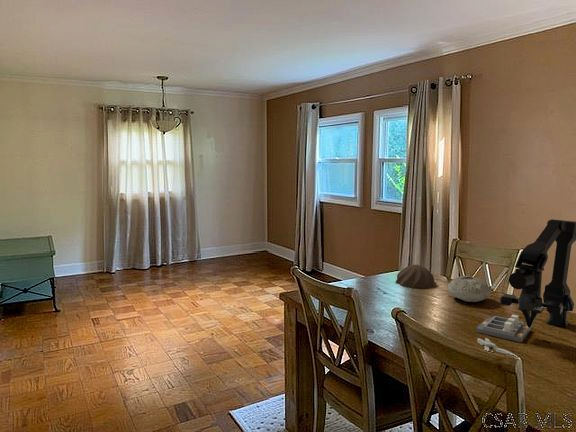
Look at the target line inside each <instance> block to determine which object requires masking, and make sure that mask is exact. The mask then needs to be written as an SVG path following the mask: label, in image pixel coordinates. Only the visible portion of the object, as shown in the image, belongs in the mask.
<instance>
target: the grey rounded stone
mask: <svg viewBox="0 0 576 432" xmlns="http://www.w3.org/2000/svg"><path fill="white" fill-rule="evenodd" d="M447 290H448V292H449V294H450V295H451V296H452V297H455V298H457V299H460V300H461V301H463V302H466V303H468V302H469V303H477V302H481V301H483V300H487V299H488V298H489V297H490V296H491V287H490V286H489V285H488V283H487V282H485V281H484V280H482V279H481V278H479V277H474V276H471V275H463V276H462V275H461V276H456V277H455V278H452V279H451V280H450V282H448V285H447Z"/></svg>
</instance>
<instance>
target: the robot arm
mask: <svg viewBox="0 0 576 432" xmlns="http://www.w3.org/2000/svg"><path fill="white" fill-rule="evenodd" d="M554 242H556V245H555V247H556V248H555V253H554V261H553V269H552V275H551V281H550V282H549V283H548V284H545V286H544V292H543V294H542V281H543V280H542V278H543V271H545V268H544V267H545V265H546V264H547V262H548V258H549V256H548V251H549V250H550V248H551V247H552V246H553V244H554ZM575 242H576V221H574V220H562V219H549V220H548V221H547V222H546V225H545V227H544V229H543V230H542V232H541V233H540V234H539V236H538V237H537V238H536V240H535V241H534V242H532V243H530V244H527V245H526V246H525V247H524V248H523V249H522V250H521V251H520V253H519V256H518V258H517V260H516V263H515V266H514V268H515V270H514V271H515V272H513V273H511V274H510V275H509V277H508V283H509V285H510V286H511V287H512V289H515V290H521V293H520V295H519V298H517V296H516V294H509V293H504V294H503V295H502V296H501V297H500V298H499V304H500V305H503V306H507V307H509V306H511V305H512V304H516V305H517V310H518V311H521V312H522V315H523V317H524V319H525V323H526V325H527V326H528V327H529V328H532V325H533V323H534V321H535V319H536V317H537V316H538V314H542V313H543V311H544V309H545V310H546V311H547V313H549V315H548V319H547V320H546V322H545V323H546V324H549V325H551V326H552V325H553V326H558V327H563V328H566V327H567V326H568V325H569V323H570V321H569V320H568V312H573V311H574V308H575V302H574V301H573V298H572V297H571V290H570V288H569V286H568V283H567V282H568V281H567V279H568V274H569V266H570V265H569V264H570V259H571V252H572V245H573V244H574V243H575ZM541 295H542V297H541Z"/></svg>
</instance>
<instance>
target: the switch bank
mask: <svg viewBox="0 0 576 432" xmlns="http://www.w3.org/2000/svg"><path fill="white" fill-rule="evenodd" d="M508 319H509V317H508V318H507V317H501V316H497V315H493V316H492V317H487V318H485V319H484V320H483V321H482V322H481V323H479V325H478V326H476V328H475V329H476V330H475V332H476V333H478V334H479V333H480V334H484V335H487V336H493V337H496V338H501V339H505V340H509V341H514V342H518V343H523V342H524V340H525V338H526V337H527V336H528V334H529V333H530V331H531V328H532V327H531V328H529V327H528V326H527V324H524V323H525V322H524V321H522V320H518V322H520V324H519V325H518V324H515V326H517V327H516V328H512V329H514V331H513V332H509V331H505V330H503V329H504V323H505V322H506V321H507V322H508Z"/></svg>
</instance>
